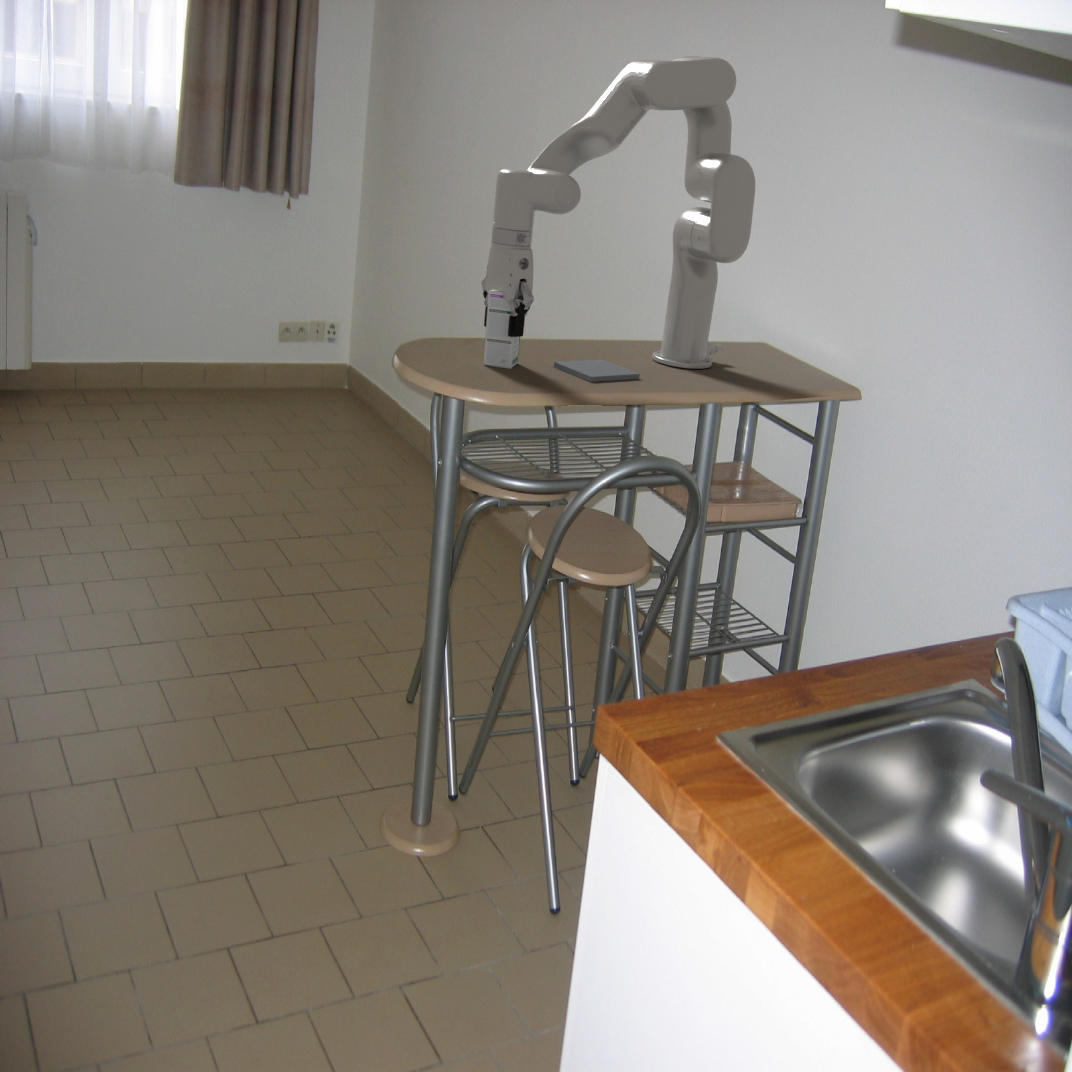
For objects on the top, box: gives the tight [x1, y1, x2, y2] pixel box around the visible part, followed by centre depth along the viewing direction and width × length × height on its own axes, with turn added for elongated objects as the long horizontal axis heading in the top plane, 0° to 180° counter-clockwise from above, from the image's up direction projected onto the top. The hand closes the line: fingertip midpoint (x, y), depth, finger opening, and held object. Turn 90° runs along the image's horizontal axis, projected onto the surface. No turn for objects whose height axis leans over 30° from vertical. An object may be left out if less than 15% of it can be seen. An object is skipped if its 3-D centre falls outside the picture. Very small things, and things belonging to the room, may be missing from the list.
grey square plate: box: [553, 359, 640, 383], centre depth 222 cm, size 12×12×1 cm
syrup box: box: [483, 289, 521, 369], centre depth 218 cm, size 6×6×14 cm
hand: (503, 331), depth 218 cm, fingers closed on syrup box, 7 cm apart
